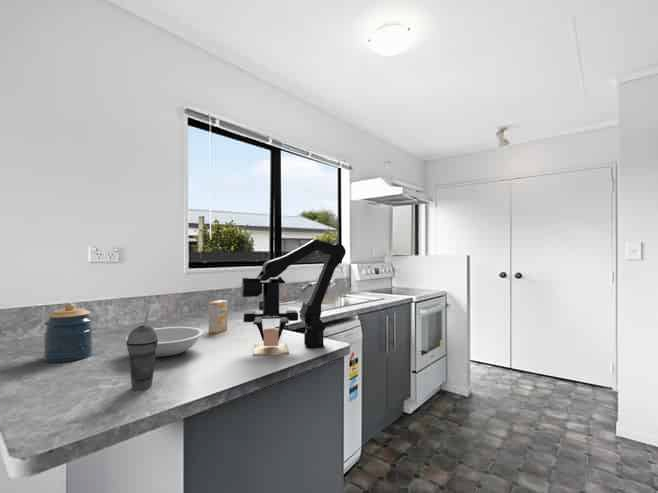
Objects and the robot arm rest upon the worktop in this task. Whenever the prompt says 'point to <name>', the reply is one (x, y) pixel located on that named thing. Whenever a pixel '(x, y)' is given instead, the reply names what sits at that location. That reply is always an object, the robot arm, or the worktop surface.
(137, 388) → the beverage cup
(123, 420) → the worktop surface
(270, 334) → the coral cube
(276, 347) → the birch board
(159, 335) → the soup bowl
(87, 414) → the worktop surface
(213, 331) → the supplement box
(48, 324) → the canister
